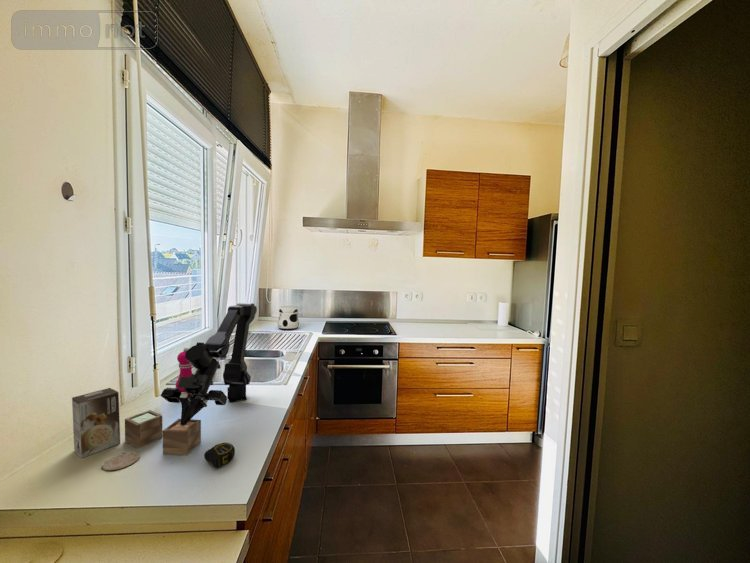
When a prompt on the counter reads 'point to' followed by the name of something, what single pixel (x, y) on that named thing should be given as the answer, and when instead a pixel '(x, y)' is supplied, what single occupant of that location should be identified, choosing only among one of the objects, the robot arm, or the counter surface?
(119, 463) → the flatbread
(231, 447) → the tape measure
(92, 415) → the coffee box
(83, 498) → the counter surface
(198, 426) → the wooden box
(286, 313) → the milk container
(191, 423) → the pink dotted cube
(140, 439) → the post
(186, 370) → the pepper mill
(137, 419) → the pale green cube
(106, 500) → the counter surface
